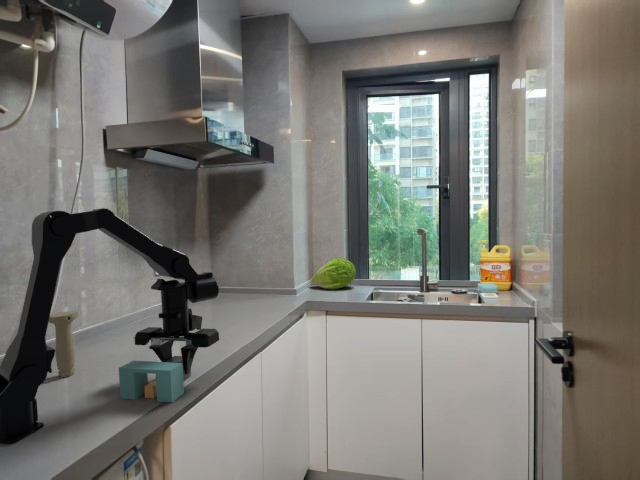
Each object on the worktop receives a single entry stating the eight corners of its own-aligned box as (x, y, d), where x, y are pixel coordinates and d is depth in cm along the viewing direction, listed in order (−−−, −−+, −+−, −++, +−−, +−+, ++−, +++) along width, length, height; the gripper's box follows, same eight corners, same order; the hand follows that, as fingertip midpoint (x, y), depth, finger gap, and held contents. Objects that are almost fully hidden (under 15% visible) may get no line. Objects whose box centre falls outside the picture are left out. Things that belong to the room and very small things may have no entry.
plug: (157, 398, 88) (156, 377, 88) (140, 397, 89) (139, 376, 89) (193, 373, 102) (192, 355, 101) (178, 372, 102) (177, 354, 102)
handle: (85, 372, 106) (81, 312, 105) (59, 381, 100) (55, 317, 99) (73, 369, 108) (69, 310, 107) (47, 378, 102) (42, 316, 101)
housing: (172, 402, 86) (170, 370, 86) (120, 398, 89) (118, 367, 89) (184, 393, 90) (182, 363, 90) (134, 389, 93) (132, 360, 93)
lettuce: (308, 297, 215) (323, 294, 229) (351, 284, 204) (364, 282, 218) (300, 268, 218) (315, 267, 232) (342, 254, 207) (356, 254, 221)
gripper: (227, 300, 104) (231, 363, 105) (159, 299, 108) (163, 360, 109) (205, 310, 93) (209, 380, 94) (130, 309, 98) (135, 376, 98)
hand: (179, 373), depth 99 cm, fingers closed on plug, 4 cm apart
